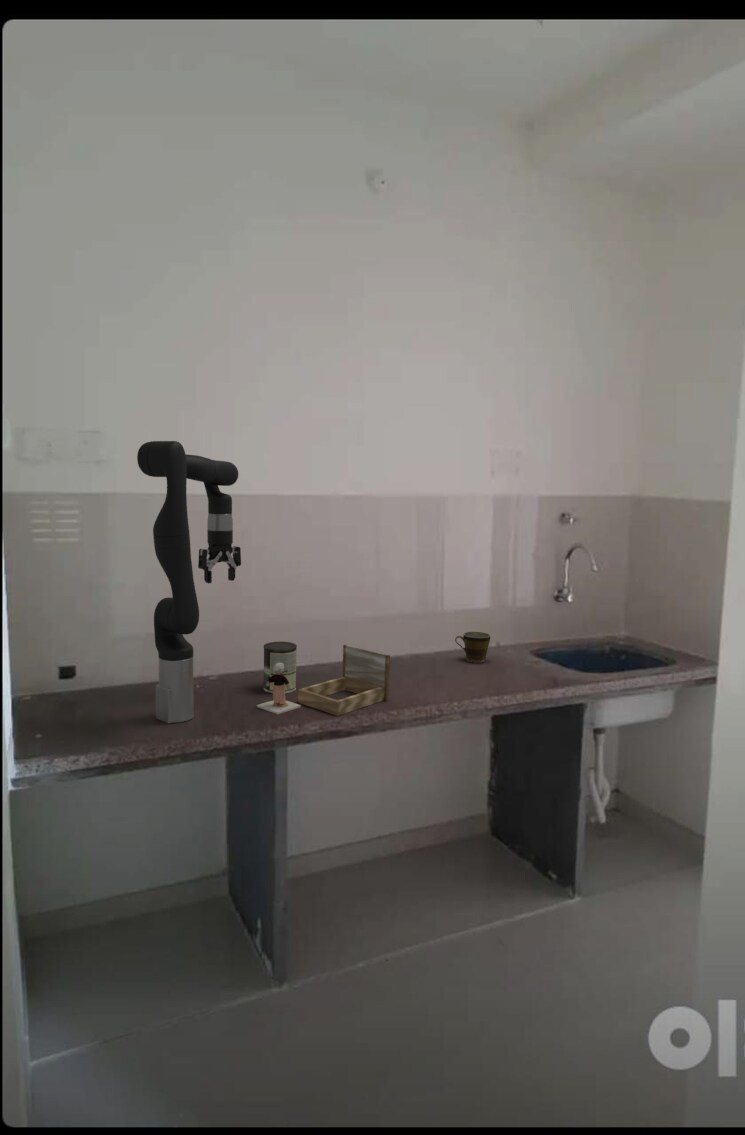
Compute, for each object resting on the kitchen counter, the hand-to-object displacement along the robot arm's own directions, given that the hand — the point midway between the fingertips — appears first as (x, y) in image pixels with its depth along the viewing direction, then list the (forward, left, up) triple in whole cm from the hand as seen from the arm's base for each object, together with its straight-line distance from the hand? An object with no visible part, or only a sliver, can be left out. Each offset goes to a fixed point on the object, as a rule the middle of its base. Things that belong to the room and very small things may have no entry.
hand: (220, 581), depth 224 cm
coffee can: (+14, -12, -34) cm, 39 cm away
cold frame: (+19, -34, -34) cm, 52 cm away
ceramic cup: (+88, -35, -34) cm, 101 cm away
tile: (+2, -25, -34) cm, 42 cm away
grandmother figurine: (+2, -25, -34) cm, 42 cm away
